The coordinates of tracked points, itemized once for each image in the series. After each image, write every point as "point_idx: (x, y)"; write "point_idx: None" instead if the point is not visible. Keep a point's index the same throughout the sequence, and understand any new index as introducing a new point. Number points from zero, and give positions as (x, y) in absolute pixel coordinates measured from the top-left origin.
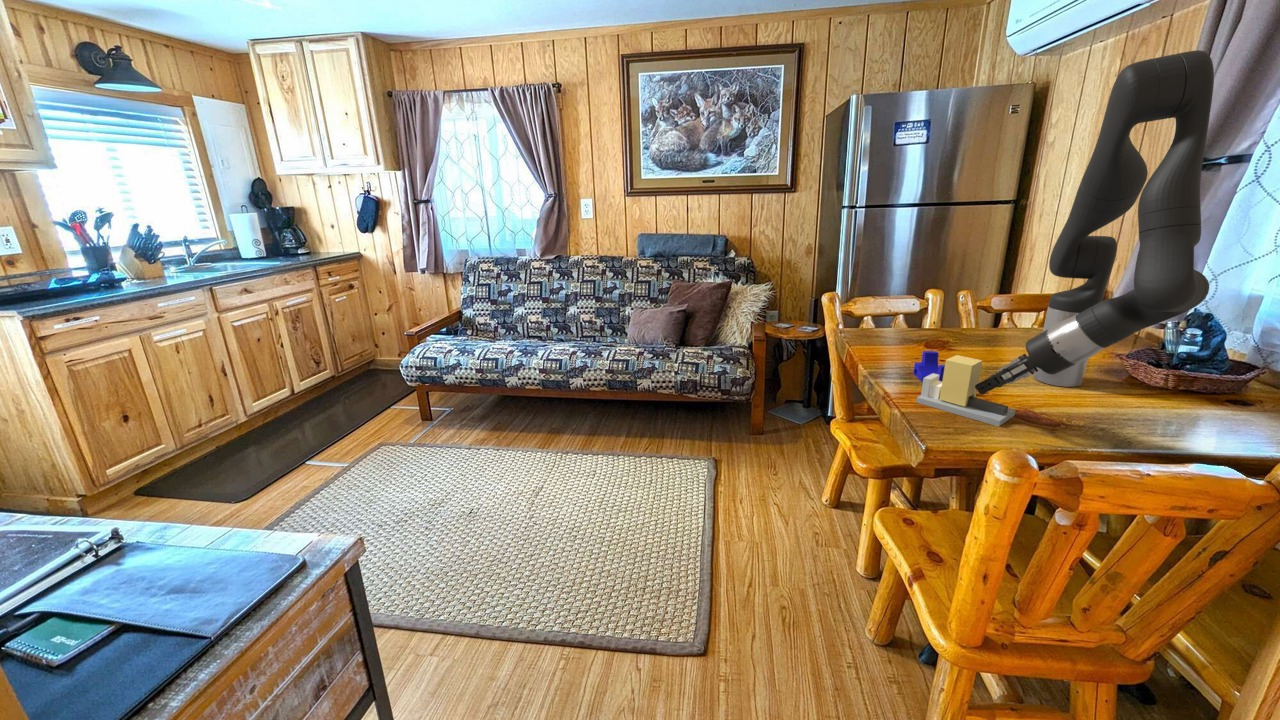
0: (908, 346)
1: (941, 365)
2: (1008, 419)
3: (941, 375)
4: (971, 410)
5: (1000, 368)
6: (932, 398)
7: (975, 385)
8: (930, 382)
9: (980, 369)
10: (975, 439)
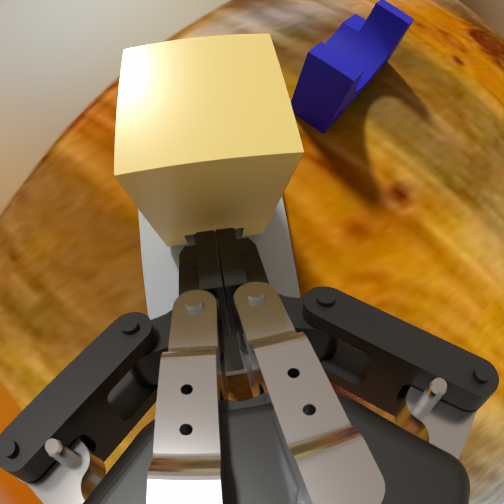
0: (445, 11)
1: (322, 47)
2: None
3: (303, 76)
4: (165, 276)
5: (162, 363)
6: None
7: (196, 232)
8: None
9: (283, 181)
10: (32, 372)
